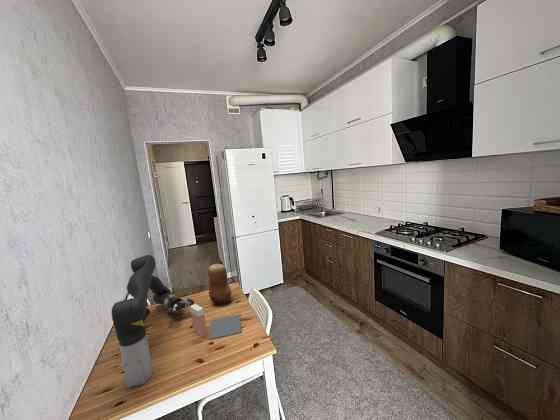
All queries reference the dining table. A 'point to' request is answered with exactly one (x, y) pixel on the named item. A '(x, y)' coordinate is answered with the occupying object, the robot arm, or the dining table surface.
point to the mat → (225, 327)
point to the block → (198, 320)
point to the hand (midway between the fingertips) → (186, 311)
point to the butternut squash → (218, 284)
